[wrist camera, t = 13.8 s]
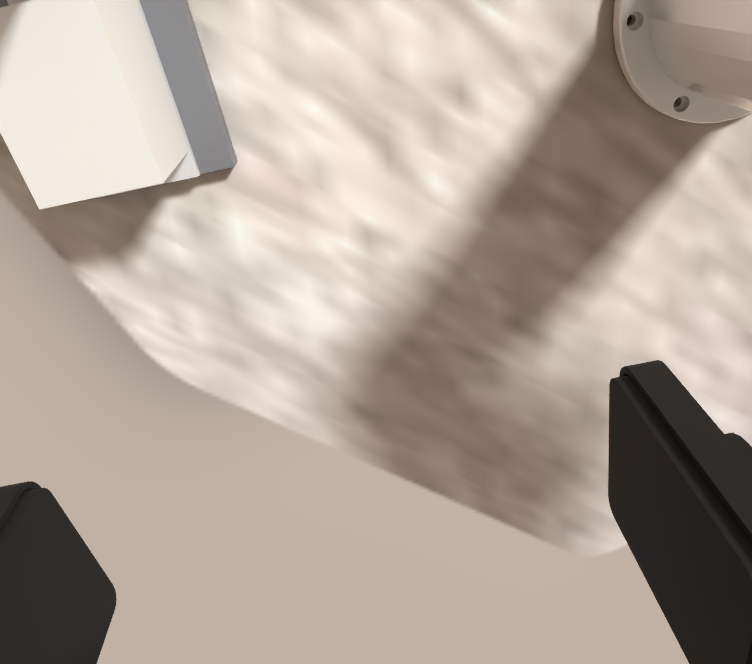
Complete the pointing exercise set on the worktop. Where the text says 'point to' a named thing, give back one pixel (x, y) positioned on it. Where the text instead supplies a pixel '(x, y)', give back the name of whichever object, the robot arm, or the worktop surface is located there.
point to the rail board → (185, 87)
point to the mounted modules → (84, 100)
